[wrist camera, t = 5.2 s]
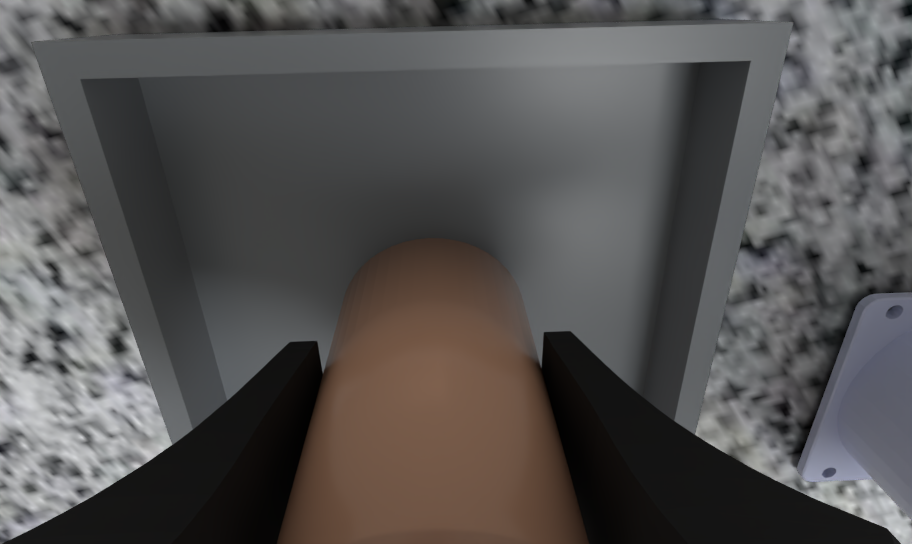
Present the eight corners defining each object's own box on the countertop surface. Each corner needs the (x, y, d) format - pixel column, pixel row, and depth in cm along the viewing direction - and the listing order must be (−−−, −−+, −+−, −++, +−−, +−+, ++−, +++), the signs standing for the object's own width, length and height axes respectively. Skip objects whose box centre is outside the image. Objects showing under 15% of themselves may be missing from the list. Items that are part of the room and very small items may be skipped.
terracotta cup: (528, 234, 13) (630, 522, 6) (520, 384, 16) (590, 711, 9) (329, 242, 13) (213, 543, 6) (353, 392, 16) (289, 729, 9)
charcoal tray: (721, 19, 13) (793, 22, 11) (644, 439, 20) (677, 507, 17) (114, 34, 13) (31, 41, 10) (234, 456, 19) (202, 529, 17)
